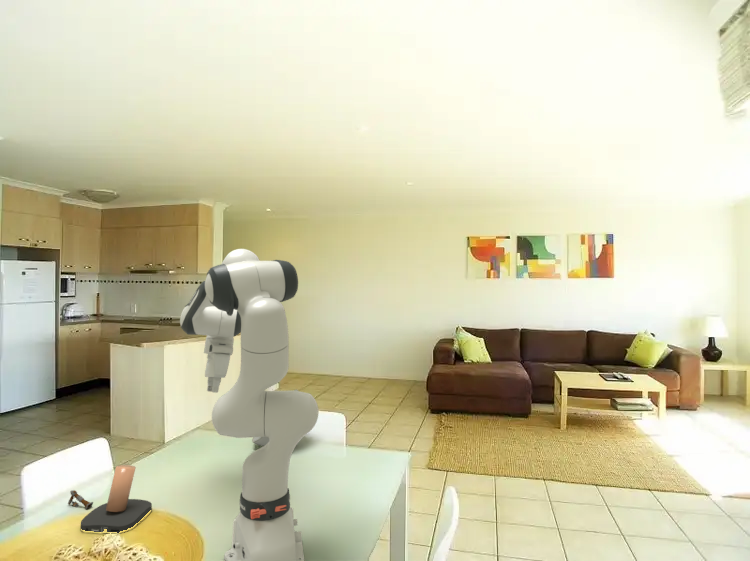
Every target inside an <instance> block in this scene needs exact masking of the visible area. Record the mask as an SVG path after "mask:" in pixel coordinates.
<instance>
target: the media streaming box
mask: <svg viewBox="0 0 750 561" xmlns="http://www.w3.org/2000/svg"><path fill="white" fill-rule="evenodd" d="M106 506H107V502H106V503H103V504H100V505H99V506H97V507H96V508H94V509H92V510H91V511H90V512H89V513H87V514H86V516H84V518H82V520H80V530H81V529H82V530H85V531H94V532H103V531H104V529H107V532H117V533H119V532H120V531H123V530H127V529H128V528H131V527H133V526H134V525H135V524H136V523H138V522H139V521H140V520H141V519H142V518H143V517H144V516H145V515H146V514H147V513H148V512H149V511H150V510H152V509H153V508H152V507H153V506H152V502H151V501H149V500H145V499H138V498H128V503H127V507H126V510H124V511H120V512H110V511H107V510H106Z"/></svg>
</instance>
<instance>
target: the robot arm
mask: <svg viewBox="0 0 750 561" xmlns="http://www.w3.org/2000/svg"><path fill="white" fill-rule="evenodd" d="M298 288H299V278H298V272H297V270H296V267H295V266H294V265H293V264H292V263H291V262H290V261H287V260H281V259H273V260H260V259H259V257H258V255H257V254H256V253H255V252H253V251H252V250H249V249H246V248H237V249H233V250H232V251H230V252H228V253H227V255H226V256H225V257H224V259H223V261H222V262H221V263H220V264H217V265H214V266H212V267H210V268H209V270H208V271H207V272H206V277H205V280H203V281H202V282H201V283H200V284H199V286H198V287H197V288H196V290H195V292H194V293H193V295H192V296H191V299H189V301H188V303H187V304H186V305H184V308H183V309H182V311H181V313H180V318H179V324H180V328H181V330H182V331H183V332H184V333H185V334H186V335H190V336H193V335H194V336H197V335H201V336H206V337H205V343H204V350H203V354H206V355H207V356H206V358H207V360H206V366H205V370H204V377H206V378H207V388H206V391H207V392H209V393H215V394H216V393H218V392H219V391H220V390H219V389H220V385H221V381H222V379H223V378H226V376H227V374H228V370H229V366H230V361H231V356H232V355H233V354H234V341H235V339H234V338H235V337H236V336H239V334H240V367H239V368H240V371H239V375H238V378H237V380H236V382H235V383H234V385H233V386H232V387H231V388H230V389H229V390H228V391H227V392H226V393H224V394H223V395H221V396H220V397H219V398H218V399H217V400H216V402H215V403H214V406H213V407H212V410H211V411H212V412H211V423H212V425H213V428H214V429H215V430H214V431H216V433H217V434H218V435H219V436H225V437H229V438H230V437H231V438H236V439H239V438H240V439H241V438H242V439H243V438H245V439H246V438H247V439H248V438H253V437H268V438H269V442H268V443H267V444H266V445H265V446H261V447H260V448H257V449H256V450H254V451H253V452H251V453H250V454H249V455H248V456H247V457H246V458H245V460H244V461H243V463H242V470H241V471H242V473H241V474H242V475H241V476H242V478H241V481H242V483H241V486H242V487H241V492H240V496H239V513H238V515H237V516H236V517H235V518H234V519H233V521H232V536H231V537H232V538H231V541H232V542H231V548H230V549H228V550H227V551H225V552H224V555H223V556H224V557H223V558H224V559H223V560H224V561H305V556H304V547H303V539H302V538H303V534H302V531H297V530H295V526H298V518H297V519H296V518H294V508H293V507H291V495H290V489H289V469H290V462H291V458H292V454H293V452H294V450H295V448H296V446H298V443H299V442H300V441H301V440H302V439H303V438H304V437H305V436H306V435H307V434H309V433H310V432H312V430H313V429H314V427H315V426H316V424H317V422H318V419H319V406H318V403H317V400H316V399H315V397H314V396H313V395H312V394H311V393H309V392H304V391H299V390H298V391H294V390H267V389H269V388H271V387H273V386H275V385H277V384H278V383H280V382H281V381H282V380H283V379H284V378H285V377H286V376H287V374H288V372H289V368H290V365H289V364H290V363H289V361H290V360H289V356H290V354H289V352H290V351H289V349H290V346H289V345H290V342H289V338H290V337H289V325H288V320H287V313H286V310H285V307H284V305H283V304H282V302H286V301H290V300H291V299H293V298H294V297H295V296H296V294H297V293H298V290H299V289H298Z"/></svg>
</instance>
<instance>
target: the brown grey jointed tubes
mask: <svg viewBox="0 0 750 561" xmlns="http://www.w3.org/2000/svg"><path fill="white" fill-rule="evenodd" d="M69 494H70V498H69V499H68V502H67V505H71V506H73V507H74V508H75V507H76V508H77V507H79V506H80V505H79V503H80V504H81V503H82V505H83V506H84V507H85V510H88V509H89V508H92V506H93V504H94V501H91V502H90V501H89V500H85V498H84V497H83V496H82V495H81V494H78V492H77V490H75V489H73V490H70V492H69ZM74 499H75V501H73V500H74ZM78 502H79V503H78Z"/></svg>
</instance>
